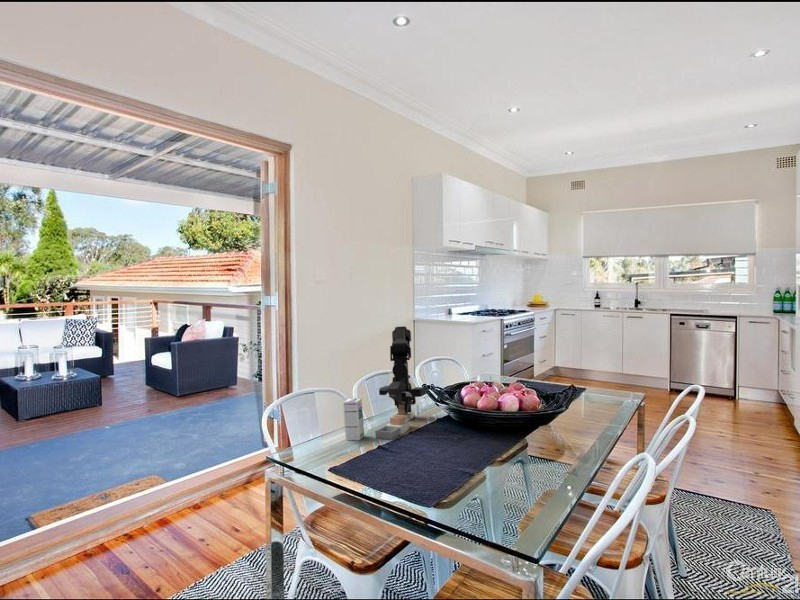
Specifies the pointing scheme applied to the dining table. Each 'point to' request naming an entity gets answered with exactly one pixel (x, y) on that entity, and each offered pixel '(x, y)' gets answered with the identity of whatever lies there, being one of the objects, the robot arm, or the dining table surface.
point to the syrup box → (353, 419)
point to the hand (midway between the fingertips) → (403, 412)
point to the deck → (402, 427)
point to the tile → (396, 420)
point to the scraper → (402, 412)
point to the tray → (387, 433)
